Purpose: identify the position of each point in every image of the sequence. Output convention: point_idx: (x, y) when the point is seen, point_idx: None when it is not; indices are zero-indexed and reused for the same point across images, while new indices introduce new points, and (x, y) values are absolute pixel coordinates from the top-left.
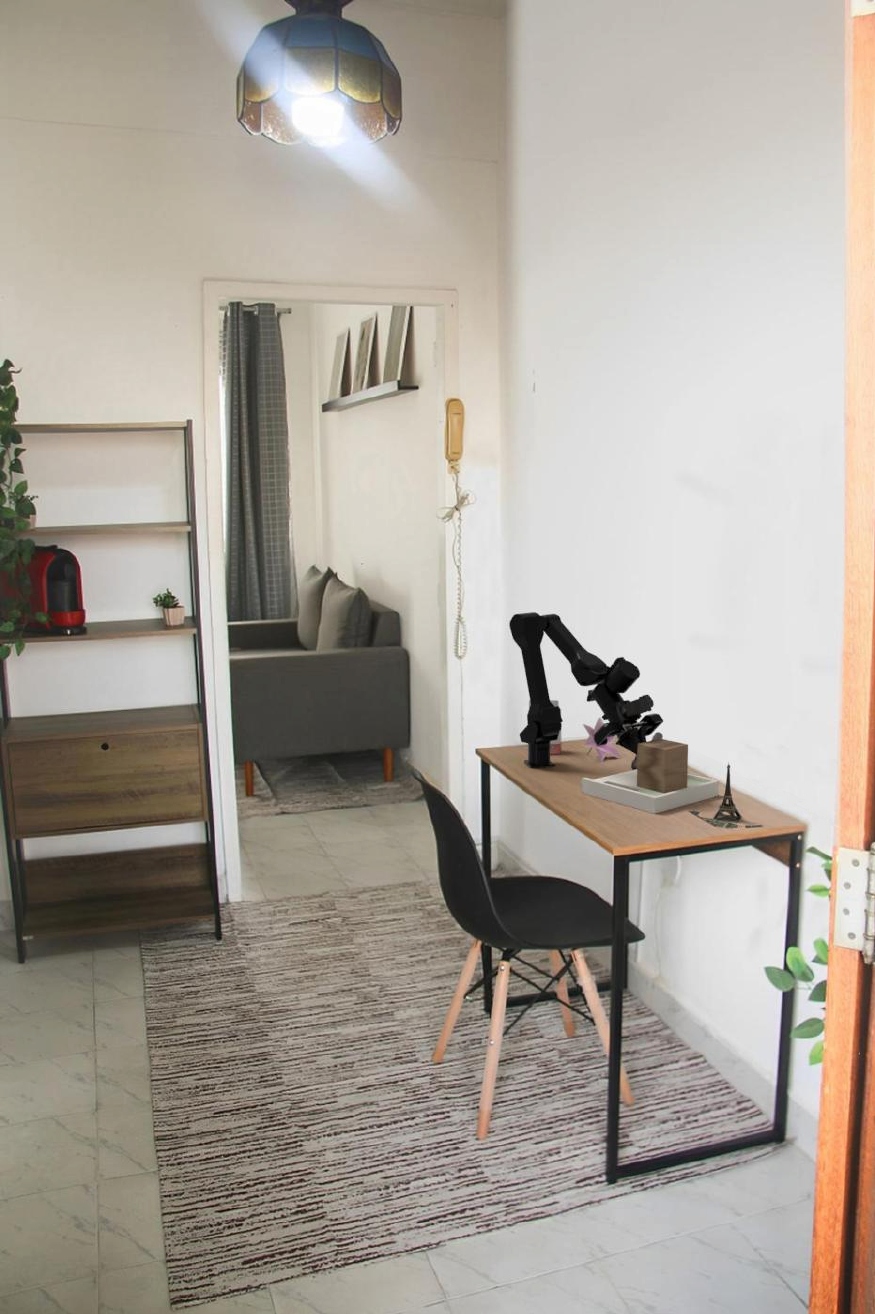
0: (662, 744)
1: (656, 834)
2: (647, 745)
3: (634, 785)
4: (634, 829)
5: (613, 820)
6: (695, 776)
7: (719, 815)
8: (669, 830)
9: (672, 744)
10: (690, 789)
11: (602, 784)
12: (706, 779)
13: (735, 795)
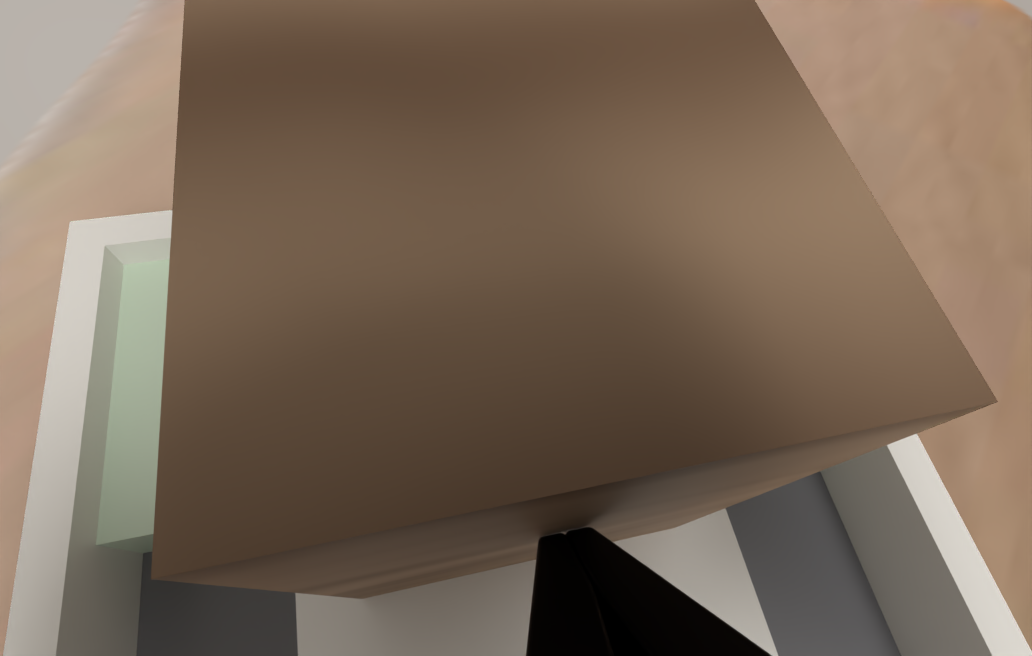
0: (551, 134)
1: (850, 30)
2: (847, 204)
3: (678, 566)
4: (916, 100)
5: (974, 225)
6: (80, 412)
7: None
8: (778, 36)
9: (397, 63)
10: None
11: (1019, 642)
12: (100, 298)
13: (41, 241)
